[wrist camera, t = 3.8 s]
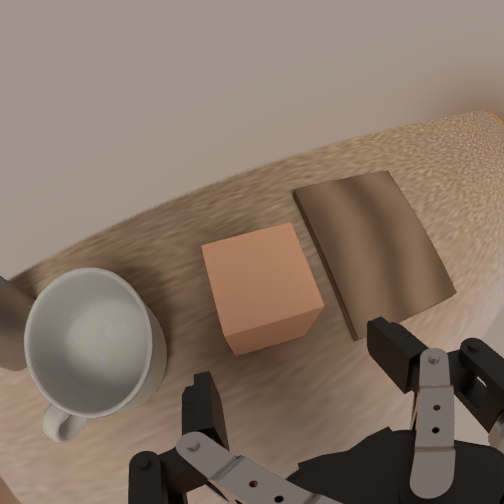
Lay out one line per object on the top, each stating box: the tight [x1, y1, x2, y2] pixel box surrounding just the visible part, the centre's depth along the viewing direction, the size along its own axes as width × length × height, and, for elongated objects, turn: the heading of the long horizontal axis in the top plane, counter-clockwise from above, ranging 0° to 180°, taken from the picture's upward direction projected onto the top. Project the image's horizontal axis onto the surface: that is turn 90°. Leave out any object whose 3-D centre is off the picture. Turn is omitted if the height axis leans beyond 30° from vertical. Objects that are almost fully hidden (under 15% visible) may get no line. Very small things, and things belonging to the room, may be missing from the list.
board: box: [293, 171, 457, 341], centre depth 28 cm, size 12×16×1 cm
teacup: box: [24, 267, 167, 443], centre depth 19 cm, size 14×11×8 cm
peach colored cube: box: [201, 222, 325, 356], centre depth 22 cm, size 6×6×8 cm
